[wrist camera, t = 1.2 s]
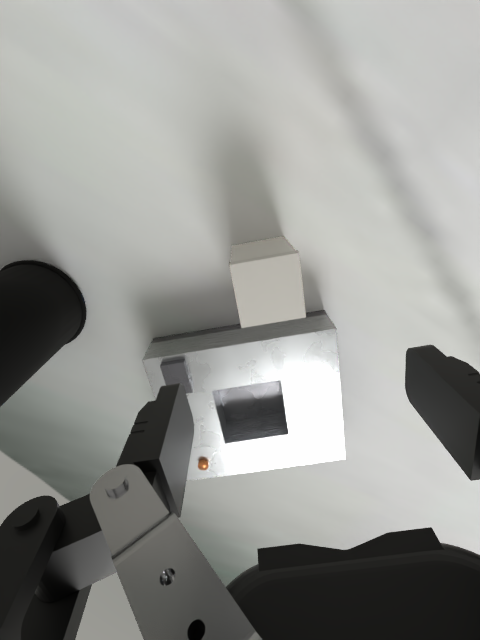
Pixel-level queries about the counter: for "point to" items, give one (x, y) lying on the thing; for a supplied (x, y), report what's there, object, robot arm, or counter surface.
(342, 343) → the counter surface
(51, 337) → the aerosol can
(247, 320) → the white plain square block
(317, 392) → the socket
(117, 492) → the robot arm
